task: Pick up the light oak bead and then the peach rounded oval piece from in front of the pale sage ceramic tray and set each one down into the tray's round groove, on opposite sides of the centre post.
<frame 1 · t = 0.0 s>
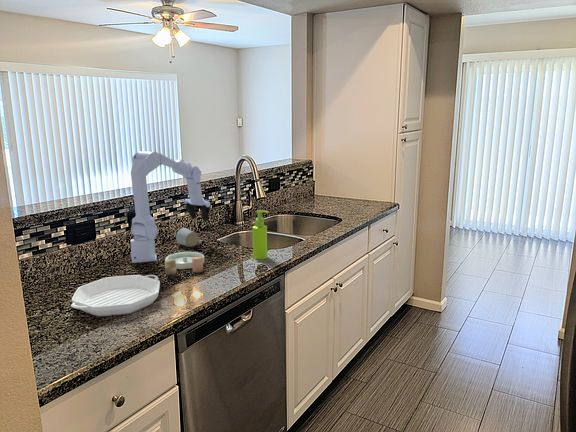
hand: (199, 219, 209), 11 cm above the worktop, tool pointing down, fingers open, 7 cm apart
peach rounded oval piece: (197, 270, 172), on the worktop
pan: (119, 302, 144), on the worktop
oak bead: (171, 273, 169), on the worktop
ceramic mug: (190, 245, 206), on the worktop
groove tray: (185, 262, 181), on the worktop
soap dispenser: (261, 257, 188), on the worktop
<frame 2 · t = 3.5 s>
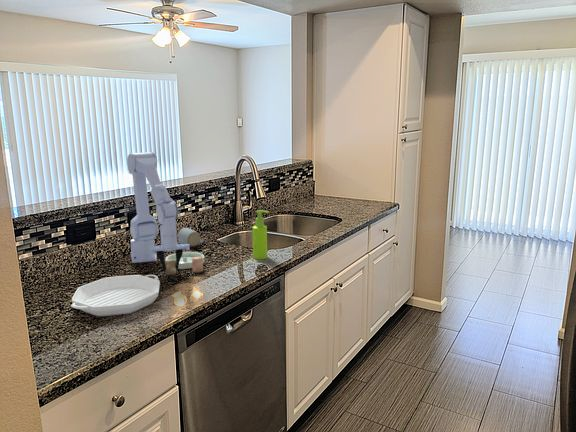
hand: (170, 269, 169), 1 cm above the worktop, tool pointing down, fingers closed on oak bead, 4 cm apart
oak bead: (171, 273, 169), on the worktop, touching gripper
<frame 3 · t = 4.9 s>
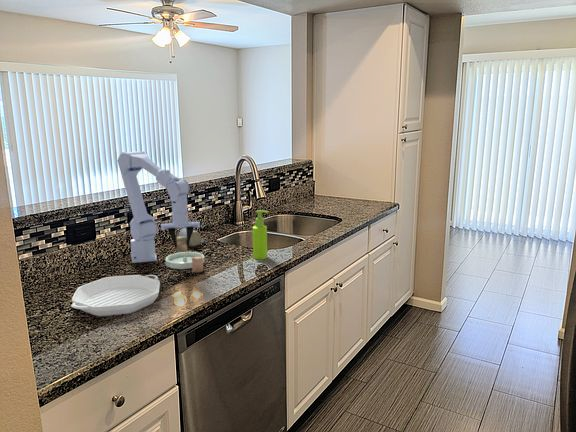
hand: (181, 246, 174), 8 cm above the worktop, tool pointing down, fingers closed on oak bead, 4 cm apart
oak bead: (181, 250, 174), point 7 cm above the worktop, touching gripper
when the fingers open (3 cm above the worktop, at t = 6.4 s): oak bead drops 1 cm, resting on groove tray.
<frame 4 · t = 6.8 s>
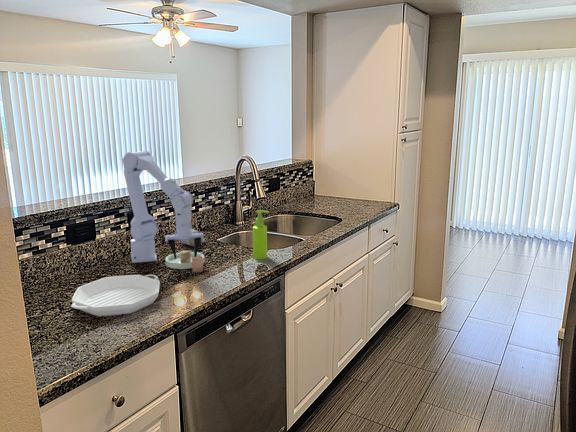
hand: (185, 257, 177), 3 cm above the worktop, tool pointing down, fingers open, 7 cm apart
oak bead: (185, 264, 177), point 1 cm above the worktop, touching groove tray
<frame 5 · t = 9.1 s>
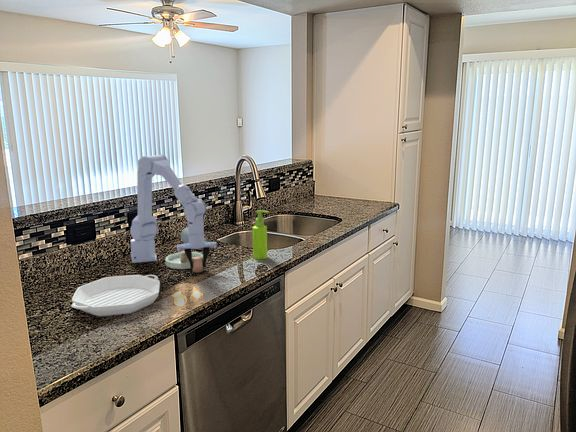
hand: (197, 267, 171), 1 cm above the worktop, tool pointing down, fingers closed on peach rounded oval piece, 4 cm apart
peach rounded oval piece: (197, 270, 172), on the worktop, touching gripper
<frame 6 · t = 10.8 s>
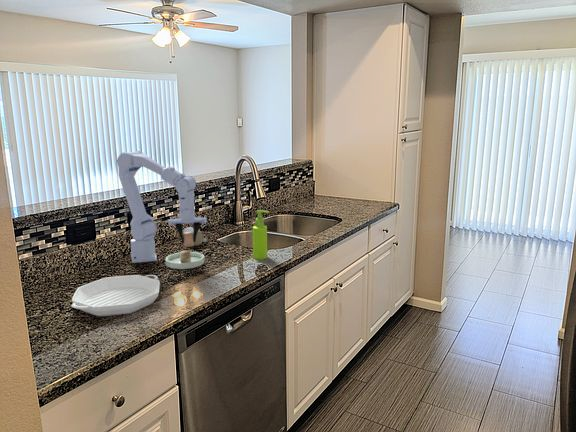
hand: (188, 241, 177), 9 cm above the worktop, tool pointing down, fingers closed on peach rounded oval piece, 4 cm apart
peach rounded oval piece: (188, 245, 177), point 8 cm above the worktop, touching gripper
when the fingers open (3 cm above the worktop, at t = 12.8 s): peach rounded oval piece drops 1 cm, resting on groove tray.
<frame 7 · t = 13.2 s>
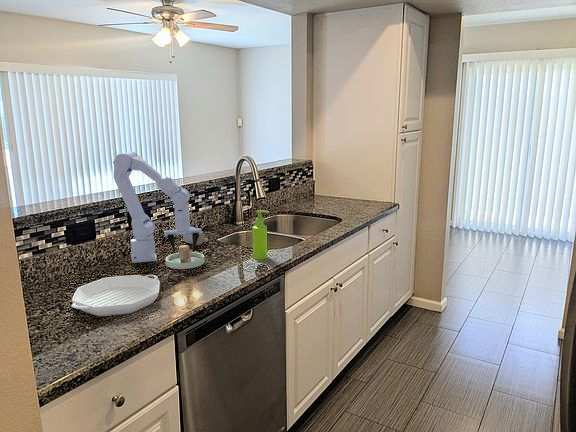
hand: (184, 251, 184), 3 cm above the worktop, tool pointing down, fingers open, 7 cm apart
peach rounded oval piece: (184, 258, 184), point 1 cm above the worktop, touching groove tray
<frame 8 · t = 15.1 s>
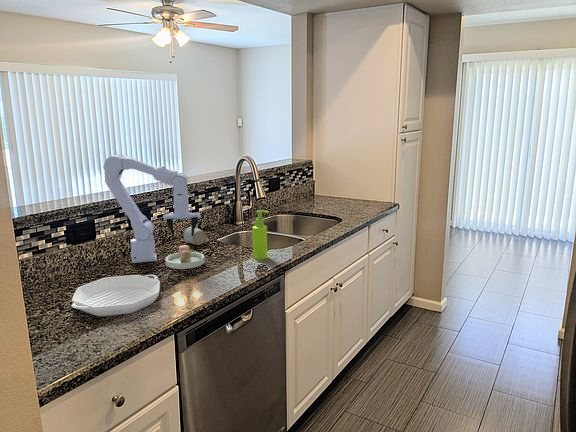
hand: (183, 236, 184), 9 cm above the worktop, tool pointing down, fingers open, 7 cm apart
at the end: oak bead inside the target area on the groove tray (3.9 cm from its centre), point 0.6 cm above the groove tray's base; peach rounded oval piece inside the target area on the groove tray (3.9 cm from its centre), point 0.6 cm above the groove tray's base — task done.
